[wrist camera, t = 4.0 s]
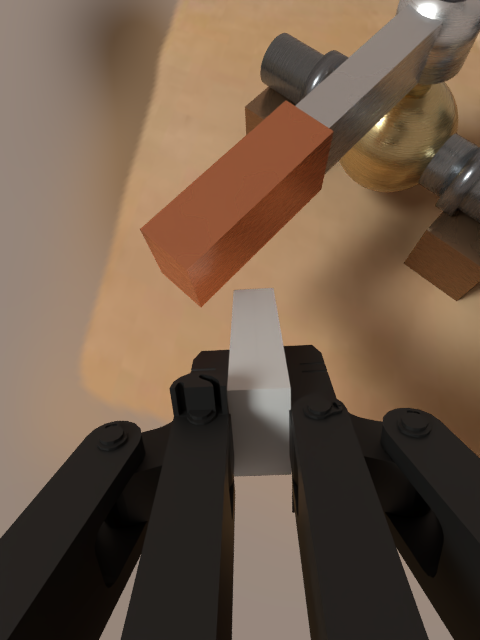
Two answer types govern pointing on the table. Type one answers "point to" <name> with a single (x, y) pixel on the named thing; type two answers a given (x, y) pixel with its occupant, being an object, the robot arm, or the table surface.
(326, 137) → the valve lever
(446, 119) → the valve stand
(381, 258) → the table surface
